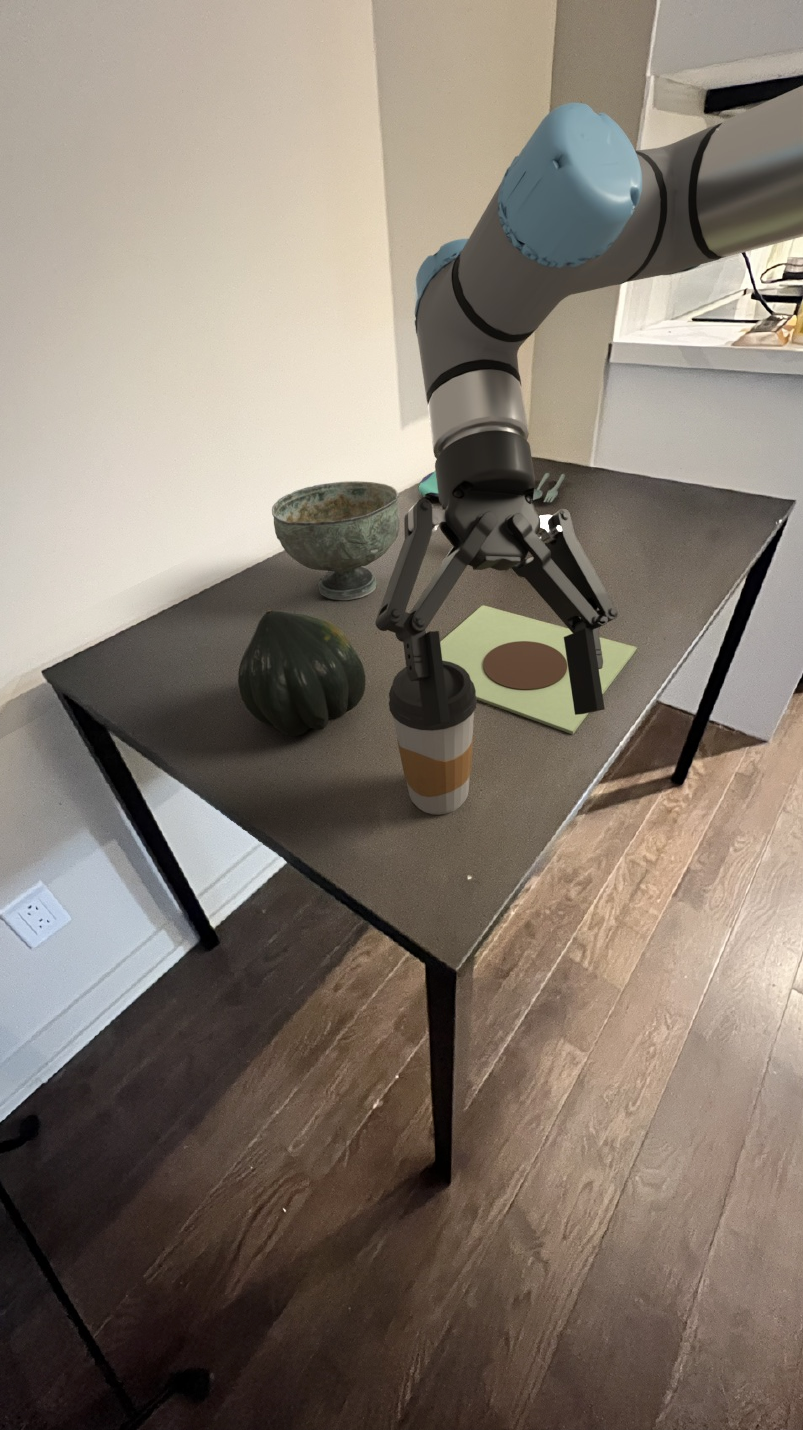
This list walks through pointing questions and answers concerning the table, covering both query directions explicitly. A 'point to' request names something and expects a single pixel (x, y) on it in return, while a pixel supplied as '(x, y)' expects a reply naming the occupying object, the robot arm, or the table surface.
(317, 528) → the bowl
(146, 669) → the table surface
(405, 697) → the coffee cup
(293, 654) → the squash
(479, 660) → the place mat
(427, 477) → the cutlery set
